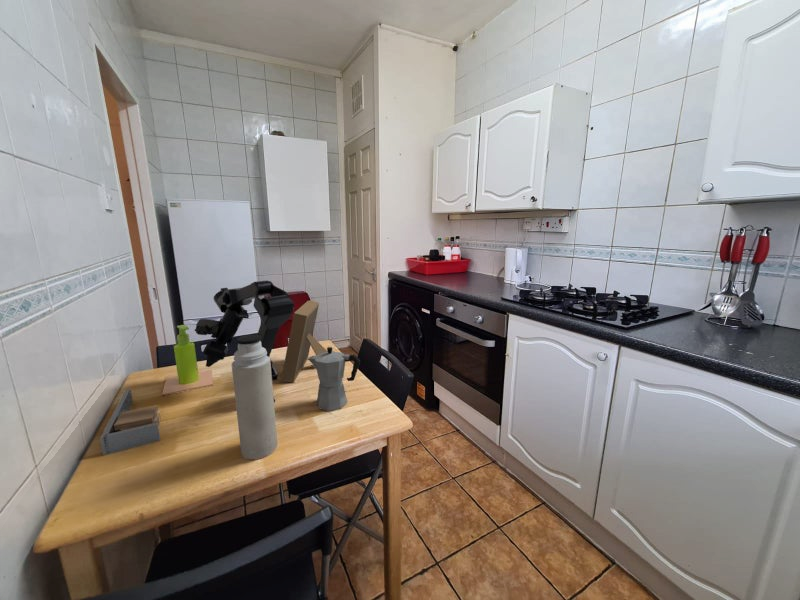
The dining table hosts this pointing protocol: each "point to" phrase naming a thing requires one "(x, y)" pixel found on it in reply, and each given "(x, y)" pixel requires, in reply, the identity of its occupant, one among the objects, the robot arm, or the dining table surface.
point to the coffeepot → (332, 378)
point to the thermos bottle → (254, 398)
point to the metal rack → (126, 438)
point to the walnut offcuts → (137, 418)
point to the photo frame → (301, 341)
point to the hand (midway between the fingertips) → (211, 358)
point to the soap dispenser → (185, 358)
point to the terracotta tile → (174, 386)
